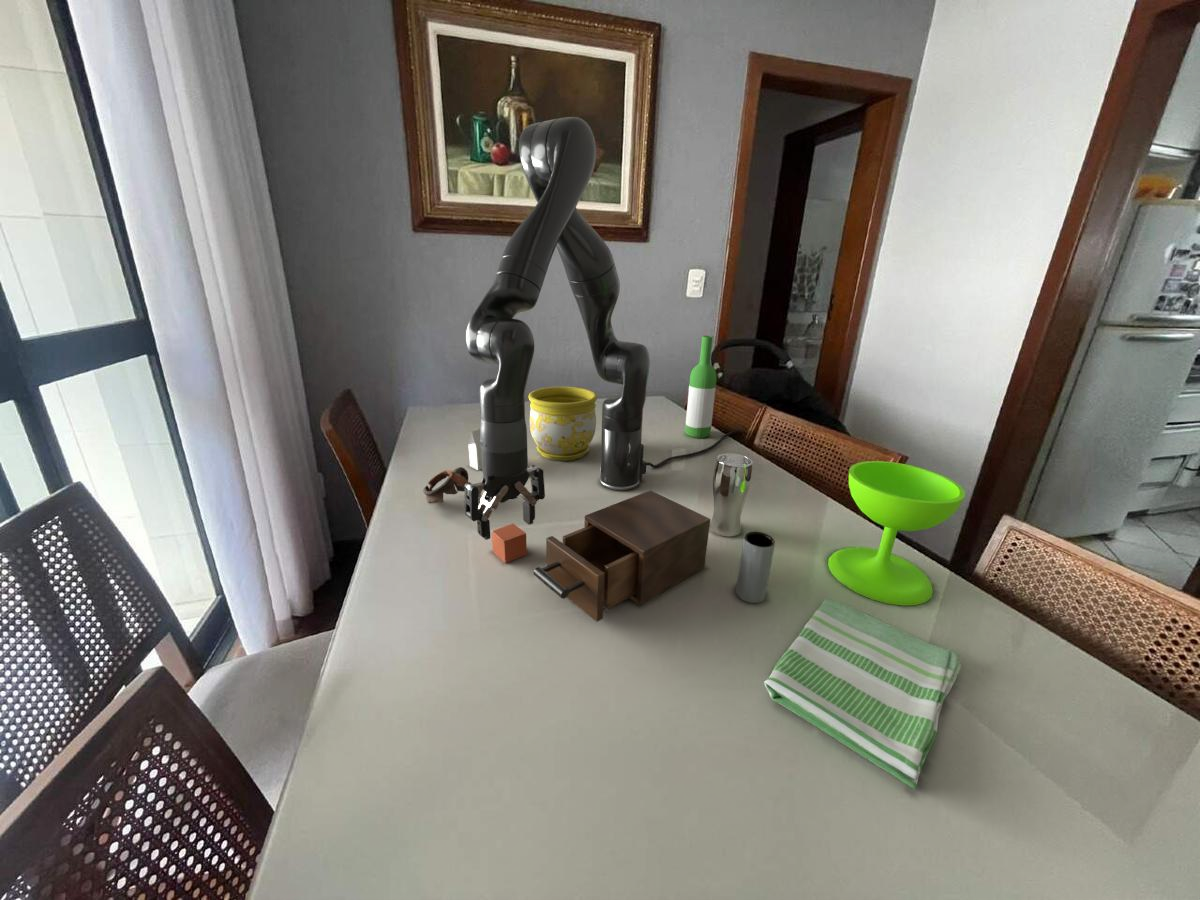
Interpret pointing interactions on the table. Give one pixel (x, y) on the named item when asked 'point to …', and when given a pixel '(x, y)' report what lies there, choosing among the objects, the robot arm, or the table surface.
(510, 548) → the block
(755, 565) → the grey cylinder
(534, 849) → the table surface
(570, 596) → the drawer
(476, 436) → the white milk carton
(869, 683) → the dish towel
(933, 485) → the wineglass
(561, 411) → the flowerpot
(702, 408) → the wine bottle
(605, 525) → the cabinet
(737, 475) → the beer glass
